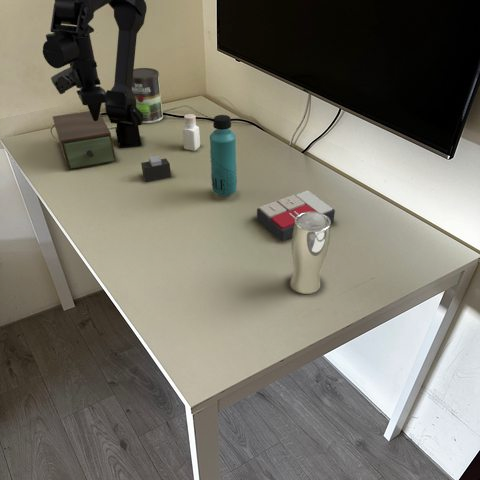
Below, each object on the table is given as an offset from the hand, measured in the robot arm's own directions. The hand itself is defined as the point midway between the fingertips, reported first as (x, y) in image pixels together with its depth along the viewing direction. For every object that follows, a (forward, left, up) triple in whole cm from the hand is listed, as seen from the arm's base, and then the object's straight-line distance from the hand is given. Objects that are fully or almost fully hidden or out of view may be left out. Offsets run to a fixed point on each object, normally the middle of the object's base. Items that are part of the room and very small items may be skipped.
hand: (95, 120), depth 127 cm
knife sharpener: (-14, +12, -12) cm, 22 cm away
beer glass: (-39, +65, -12) cm, 77 cm away
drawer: (+5, -6, -11) cm, 13 cm away
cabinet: (+5, -8, -12) cm, 15 cm away
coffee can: (-15, -31, -12) cm, 37 cm away
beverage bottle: (-30, +26, -12) cm, 42 cm away
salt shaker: (-26, -4, -12) cm, 29 cm away
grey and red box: (-44, +42, -12) cm, 62 cm away
